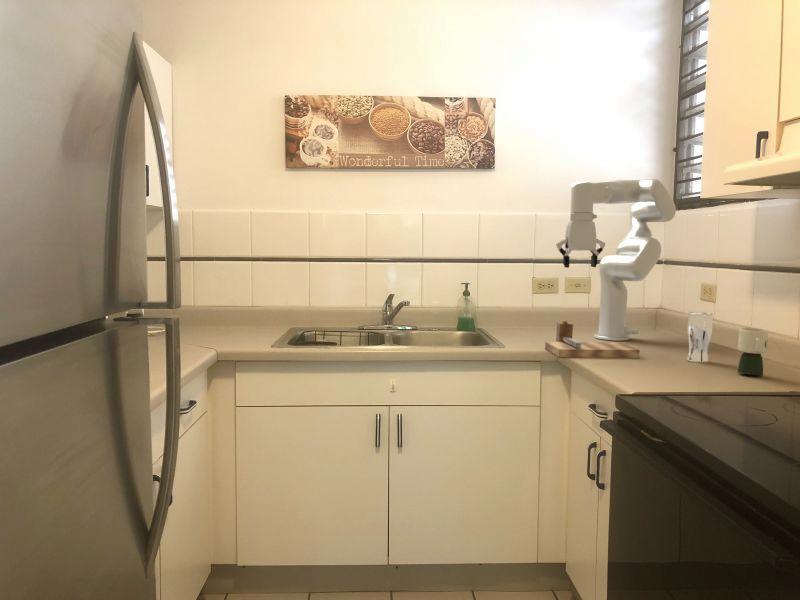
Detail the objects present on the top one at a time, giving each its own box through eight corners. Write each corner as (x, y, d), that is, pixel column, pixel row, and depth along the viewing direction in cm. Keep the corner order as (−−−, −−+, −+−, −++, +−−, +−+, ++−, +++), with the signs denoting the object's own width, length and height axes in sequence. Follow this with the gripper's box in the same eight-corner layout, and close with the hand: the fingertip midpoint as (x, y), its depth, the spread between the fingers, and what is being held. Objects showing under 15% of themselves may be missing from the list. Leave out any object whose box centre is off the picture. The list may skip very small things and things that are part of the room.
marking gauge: (568, 346, 213) (570, 320, 213) (585, 355, 198) (586, 326, 197) (555, 346, 213) (557, 319, 212) (571, 355, 198) (572, 326, 197)
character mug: (770, 380, 169) (774, 332, 168) (741, 378, 171) (745, 331, 170) (758, 372, 180) (761, 327, 178) (731, 370, 181) (734, 326, 180)
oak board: (620, 349, 211) (620, 342, 211) (638, 357, 198) (639, 349, 197) (545, 349, 210) (545, 341, 209) (558, 357, 196) (559, 348, 195)
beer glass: (708, 359, 197) (711, 312, 196) (711, 363, 191) (715, 315, 189) (684, 357, 199) (687, 311, 198) (686, 361, 193) (689, 313, 191)
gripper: (601, 217, 222) (599, 266, 224) (553, 218, 220) (552, 266, 222) (610, 217, 214) (608, 267, 216) (560, 218, 213) (559, 268, 215)
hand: (580, 267), depth 219 cm, fingers open, 9 cm apart
